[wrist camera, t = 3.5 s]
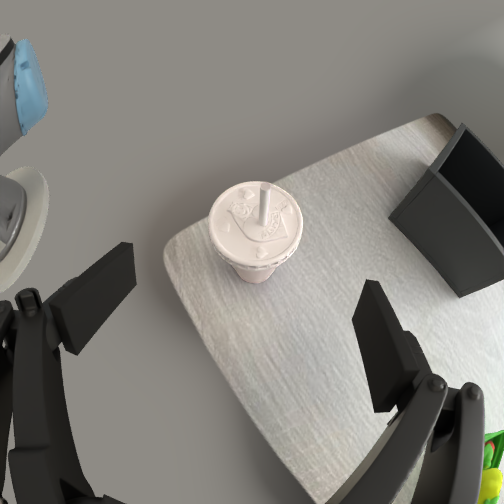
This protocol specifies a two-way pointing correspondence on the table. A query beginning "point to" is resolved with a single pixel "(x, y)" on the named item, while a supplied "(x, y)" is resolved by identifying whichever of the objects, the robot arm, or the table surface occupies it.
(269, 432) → the table surface
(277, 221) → the smoothie
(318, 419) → the table surface
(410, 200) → the bin
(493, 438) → the fruit basket
